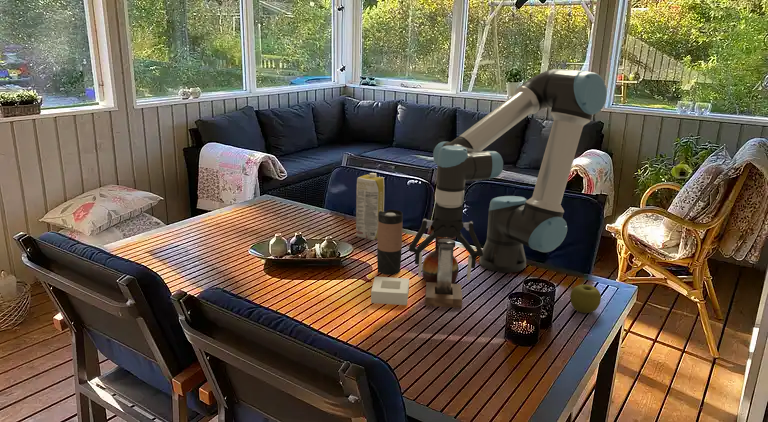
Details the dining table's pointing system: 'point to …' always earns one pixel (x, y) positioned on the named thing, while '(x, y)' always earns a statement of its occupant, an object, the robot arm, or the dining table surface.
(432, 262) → the vase
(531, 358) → the dining table surface
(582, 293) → the apple
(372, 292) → the socket
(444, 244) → the pin
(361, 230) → the juice carton
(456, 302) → the mount
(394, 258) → the travel mug
